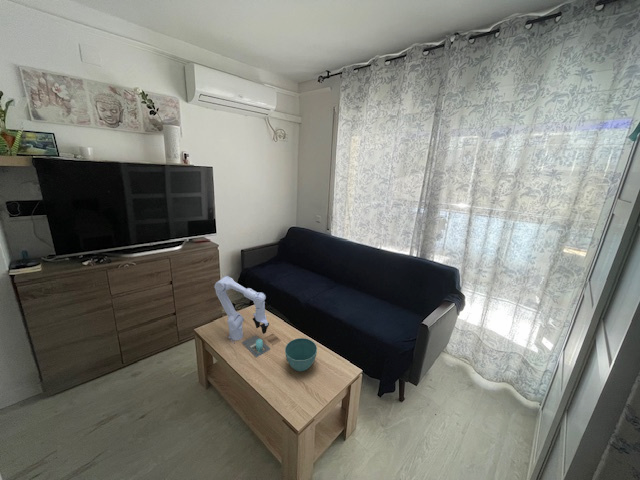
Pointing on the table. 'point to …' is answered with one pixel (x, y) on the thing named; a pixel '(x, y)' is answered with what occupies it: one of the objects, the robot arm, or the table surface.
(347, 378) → the table surface
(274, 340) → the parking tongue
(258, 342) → the peg
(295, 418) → the table surface
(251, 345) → the plate
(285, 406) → the table surface
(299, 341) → the teal bowl
